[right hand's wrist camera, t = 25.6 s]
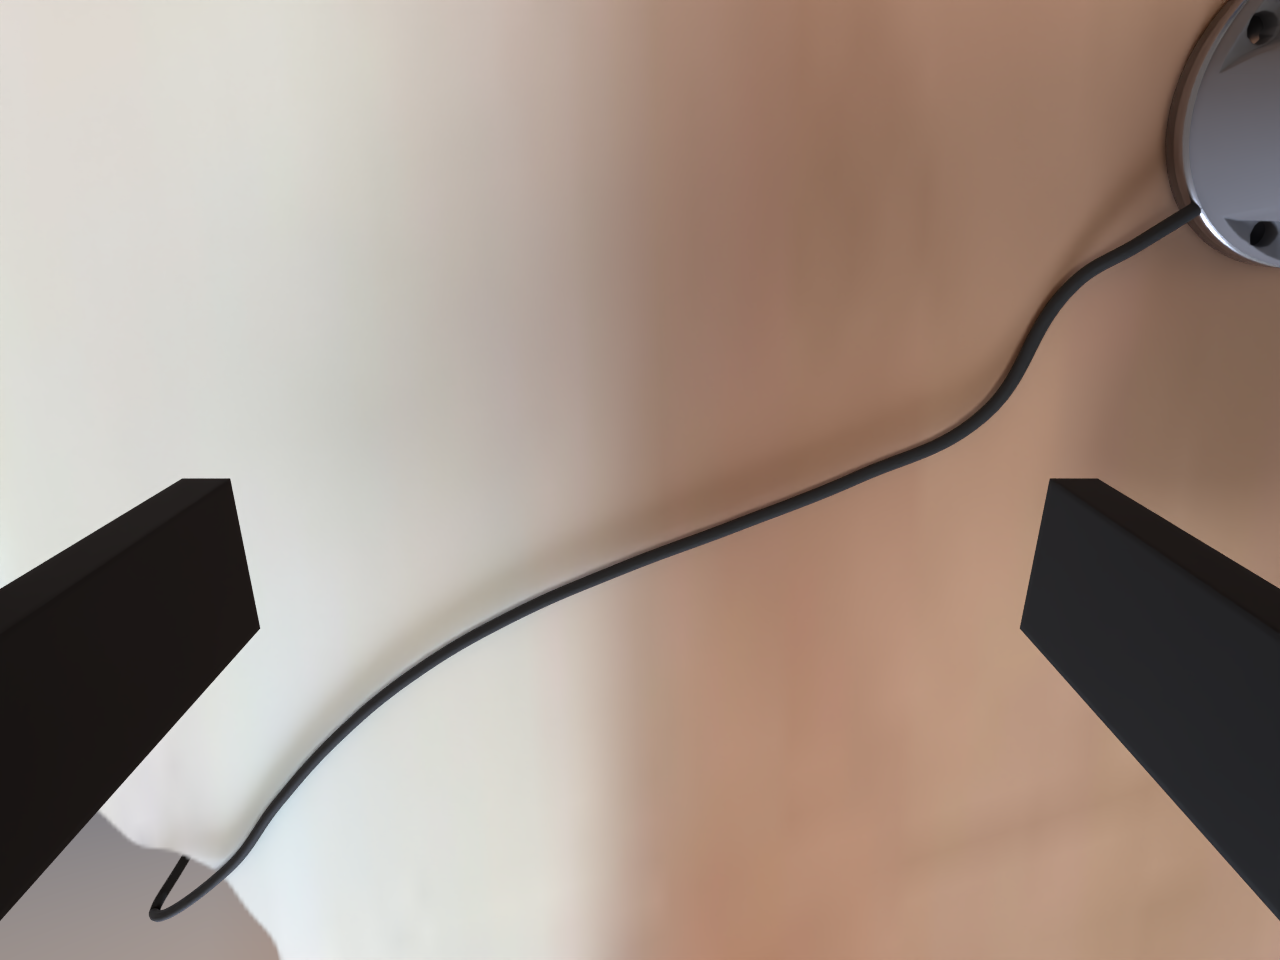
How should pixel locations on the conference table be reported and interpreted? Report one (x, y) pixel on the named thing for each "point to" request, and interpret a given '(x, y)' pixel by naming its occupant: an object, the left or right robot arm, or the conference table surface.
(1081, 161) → the conference table surface
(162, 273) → the conference table surface
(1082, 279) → the right robot arm
